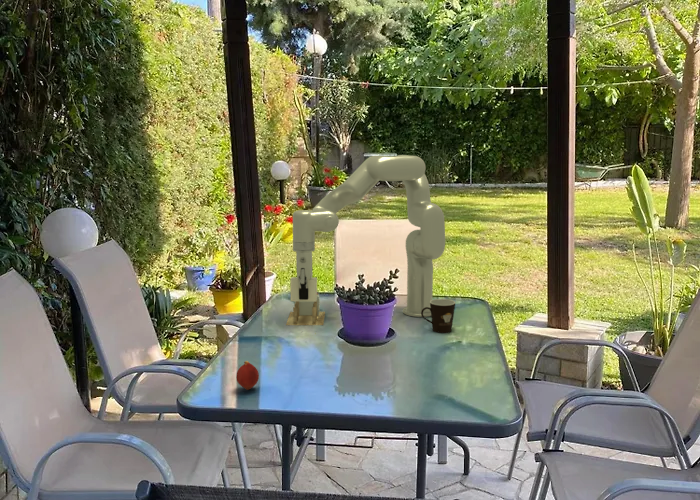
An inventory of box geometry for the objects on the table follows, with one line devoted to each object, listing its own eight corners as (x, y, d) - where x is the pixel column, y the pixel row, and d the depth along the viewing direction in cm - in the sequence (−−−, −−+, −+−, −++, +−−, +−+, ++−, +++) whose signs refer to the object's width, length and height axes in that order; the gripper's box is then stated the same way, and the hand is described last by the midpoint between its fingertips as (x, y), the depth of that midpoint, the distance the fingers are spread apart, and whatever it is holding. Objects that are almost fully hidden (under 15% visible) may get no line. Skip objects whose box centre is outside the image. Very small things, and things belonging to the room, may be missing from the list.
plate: (319, 313, 236) (319, 294, 235) (319, 315, 234) (319, 296, 233) (295, 313, 237) (294, 295, 235) (294, 315, 234) (294, 296, 233)
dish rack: (325, 315, 239) (325, 296, 238) (323, 329, 222) (323, 308, 221) (290, 315, 239) (290, 296, 238) (285, 329, 222) (285, 308, 221)
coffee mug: (453, 327, 224) (454, 299, 222) (455, 334, 216) (456, 305, 214) (420, 326, 225) (420, 298, 224) (420, 333, 217) (421, 305, 215)
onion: (249, 383, 174) (248, 355, 172) (263, 388, 170) (262, 360, 169) (232, 390, 169) (231, 361, 168) (247, 395, 166) (246, 366, 164)
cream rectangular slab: (316, 299, 225) (316, 277, 224) (316, 301, 223) (316, 279, 221) (291, 299, 225) (291, 277, 224) (290, 301, 223) (290, 278, 221)
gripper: (313, 250, 213) (313, 304, 216) (316, 242, 229) (316, 292, 232) (290, 250, 213) (291, 304, 216) (295, 242, 229) (295, 292, 232)
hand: (304, 297), depth 224 cm, fingers closed on cream rectangular slab, 2 cm apart
